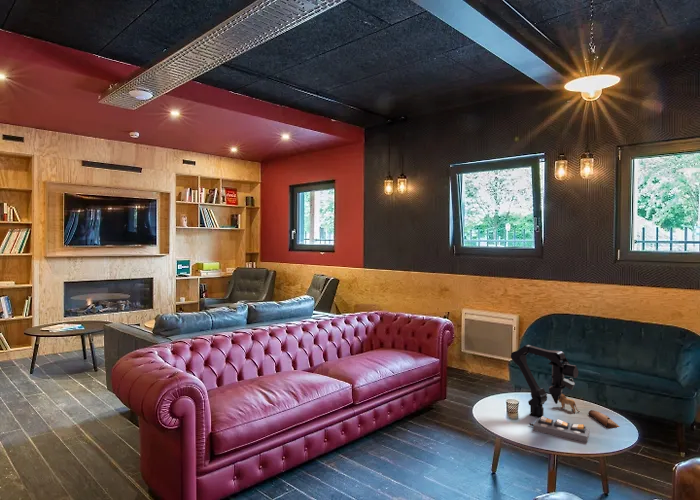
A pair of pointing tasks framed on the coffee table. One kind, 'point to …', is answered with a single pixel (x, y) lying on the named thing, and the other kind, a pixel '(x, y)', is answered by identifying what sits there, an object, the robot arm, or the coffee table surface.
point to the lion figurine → (567, 402)
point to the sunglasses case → (603, 419)
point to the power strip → (561, 430)
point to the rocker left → (545, 419)
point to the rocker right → (578, 426)
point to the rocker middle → (561, 423)
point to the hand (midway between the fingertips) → (557, 401)
